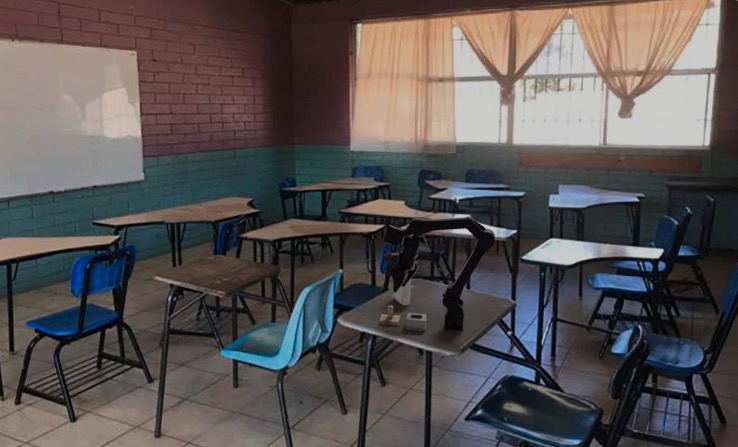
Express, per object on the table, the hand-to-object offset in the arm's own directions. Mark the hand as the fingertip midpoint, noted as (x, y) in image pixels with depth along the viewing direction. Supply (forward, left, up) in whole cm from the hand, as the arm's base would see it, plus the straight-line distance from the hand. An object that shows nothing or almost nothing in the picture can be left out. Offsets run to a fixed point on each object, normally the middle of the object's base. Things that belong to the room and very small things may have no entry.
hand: (398, 289), depth 233 cm
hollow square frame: (-8, +5, -12) cm, 15 cm away
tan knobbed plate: (+2, +2, -12) cm, 13 cm away
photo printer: (0, -23, -12) cm, 26 cm away
